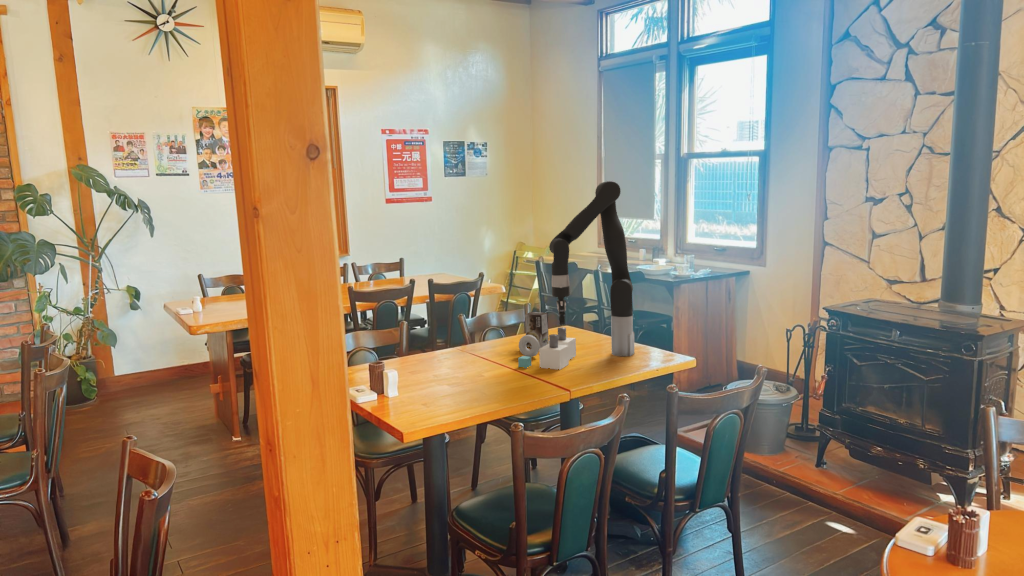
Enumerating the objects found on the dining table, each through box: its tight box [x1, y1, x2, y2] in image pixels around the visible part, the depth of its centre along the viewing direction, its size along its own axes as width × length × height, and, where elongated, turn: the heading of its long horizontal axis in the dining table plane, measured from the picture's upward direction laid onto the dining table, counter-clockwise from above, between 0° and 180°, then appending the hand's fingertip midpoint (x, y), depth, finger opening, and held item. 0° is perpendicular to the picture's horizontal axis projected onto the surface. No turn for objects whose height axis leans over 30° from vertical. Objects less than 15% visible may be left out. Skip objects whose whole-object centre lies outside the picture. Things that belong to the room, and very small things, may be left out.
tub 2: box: [538, 333, 570, 371], centre depth 274 cm, size 9×9×13 cm
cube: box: [517, 355, 532, 369], centre depth 275 cm, size 4×4×4 cm
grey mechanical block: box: [524, 311, 550, 349], centre depth 310 cm, size 9×6×16 cm
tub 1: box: [548, 327, 577, 361], centre depth 288 cm, size 9×9×13 cm
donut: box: [518, 334, 540, 358], centre depth 291 cm, size 10×4×10 cm, turn 60°
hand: (562, 322), depth 286 cm, fingers open, 8 cm apart
